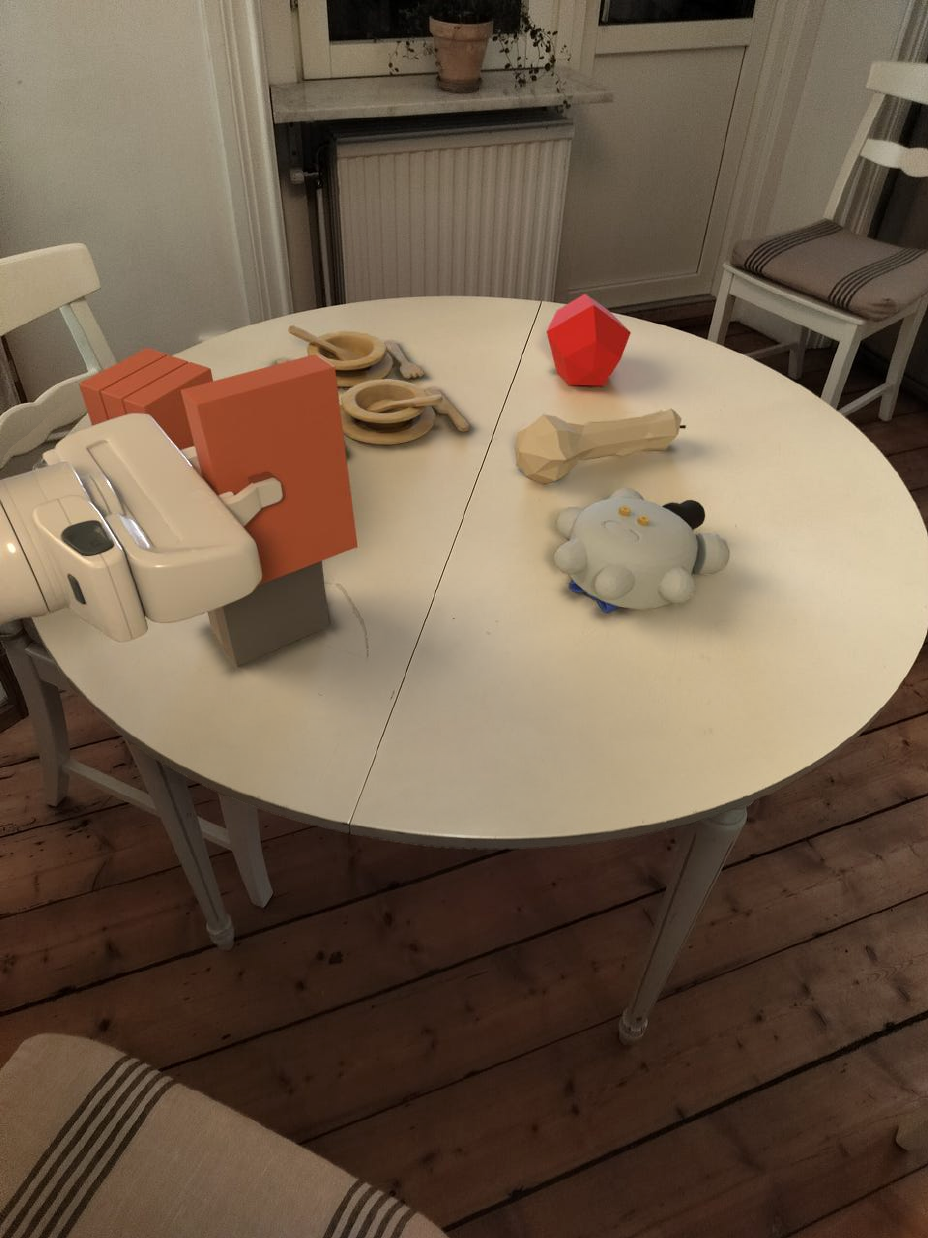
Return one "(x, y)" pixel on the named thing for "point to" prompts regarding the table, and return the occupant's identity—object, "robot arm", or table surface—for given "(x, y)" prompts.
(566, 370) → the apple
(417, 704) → the table surface
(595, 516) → the figurine
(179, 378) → the matching books
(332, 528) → the terracotta book
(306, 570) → the grey books
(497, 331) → the table surface
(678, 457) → the table surface
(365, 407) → the tableware set
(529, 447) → the faceted club
